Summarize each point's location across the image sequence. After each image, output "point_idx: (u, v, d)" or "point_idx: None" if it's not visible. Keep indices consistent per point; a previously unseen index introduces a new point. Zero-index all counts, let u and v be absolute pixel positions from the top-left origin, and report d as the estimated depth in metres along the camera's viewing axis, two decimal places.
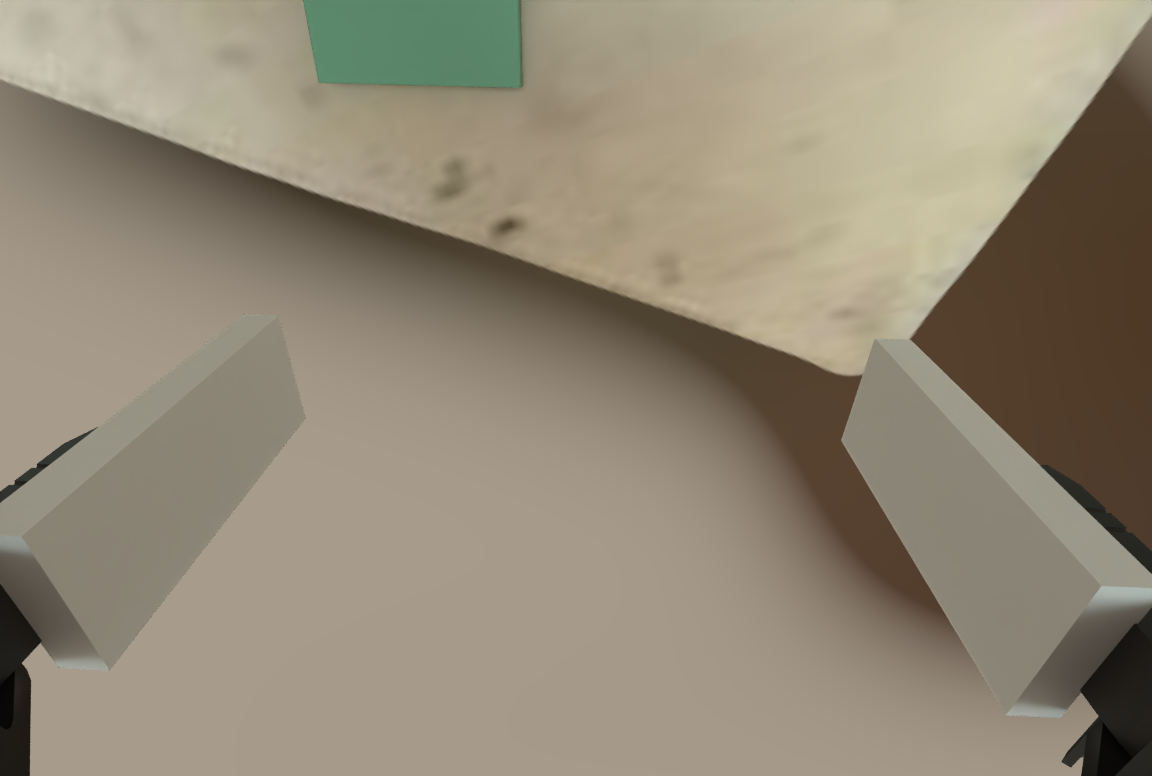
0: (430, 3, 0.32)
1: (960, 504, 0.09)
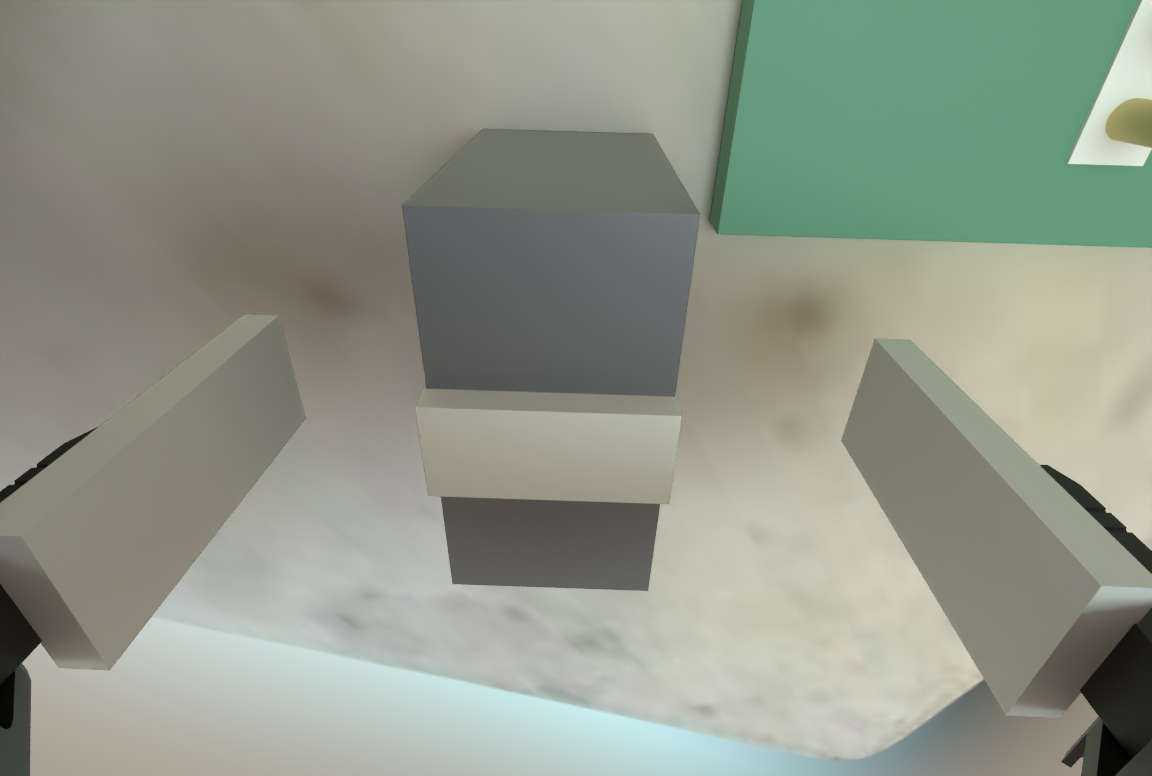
0: None
1: (960, 504, 0.09)
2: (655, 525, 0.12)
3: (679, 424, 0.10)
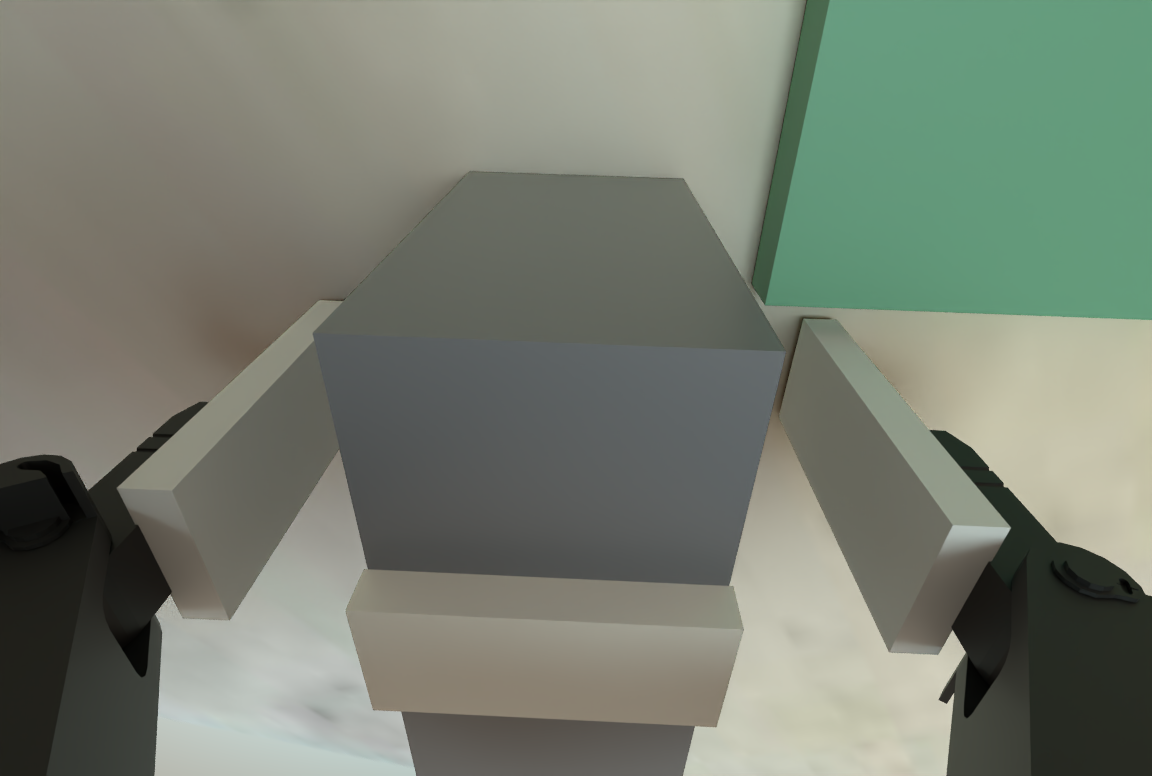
0: None
1: (860, 465, 0.10)
2: (692, 728, 0.09)
3: (739, 636, 0.07)
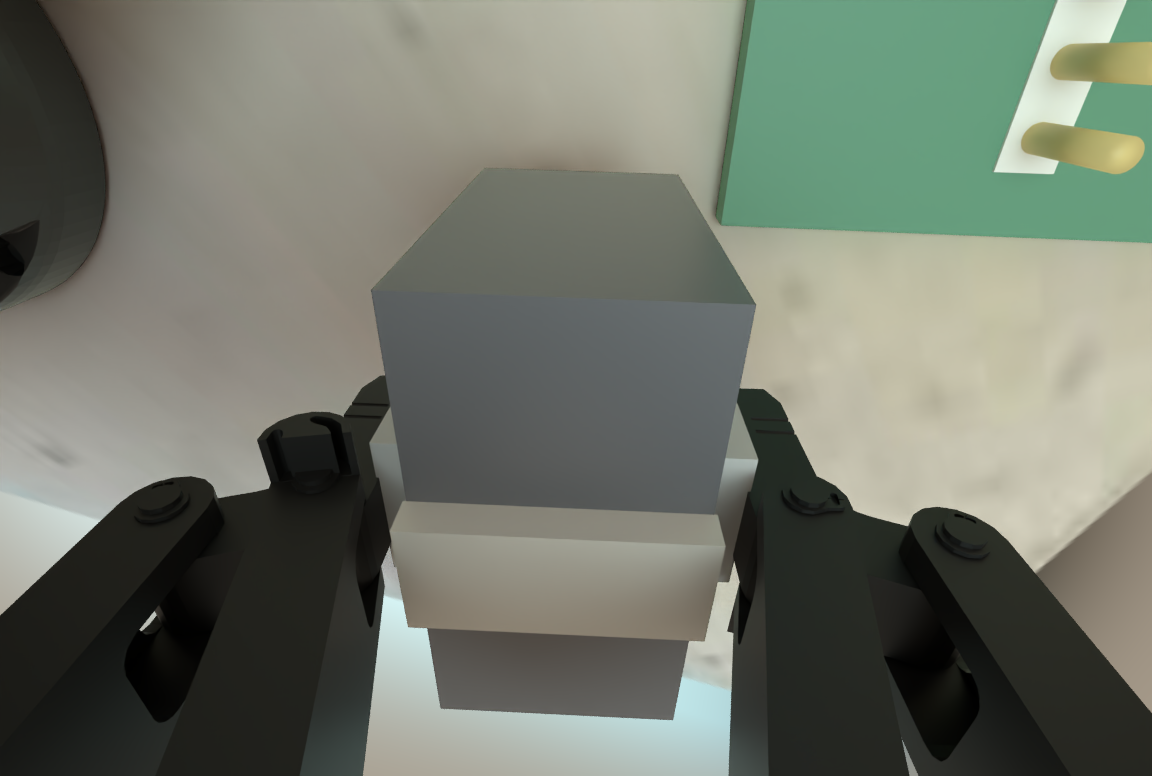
0: None
1: None
2: (684, 652, 0.10)
3: (722, 553, 0.08)
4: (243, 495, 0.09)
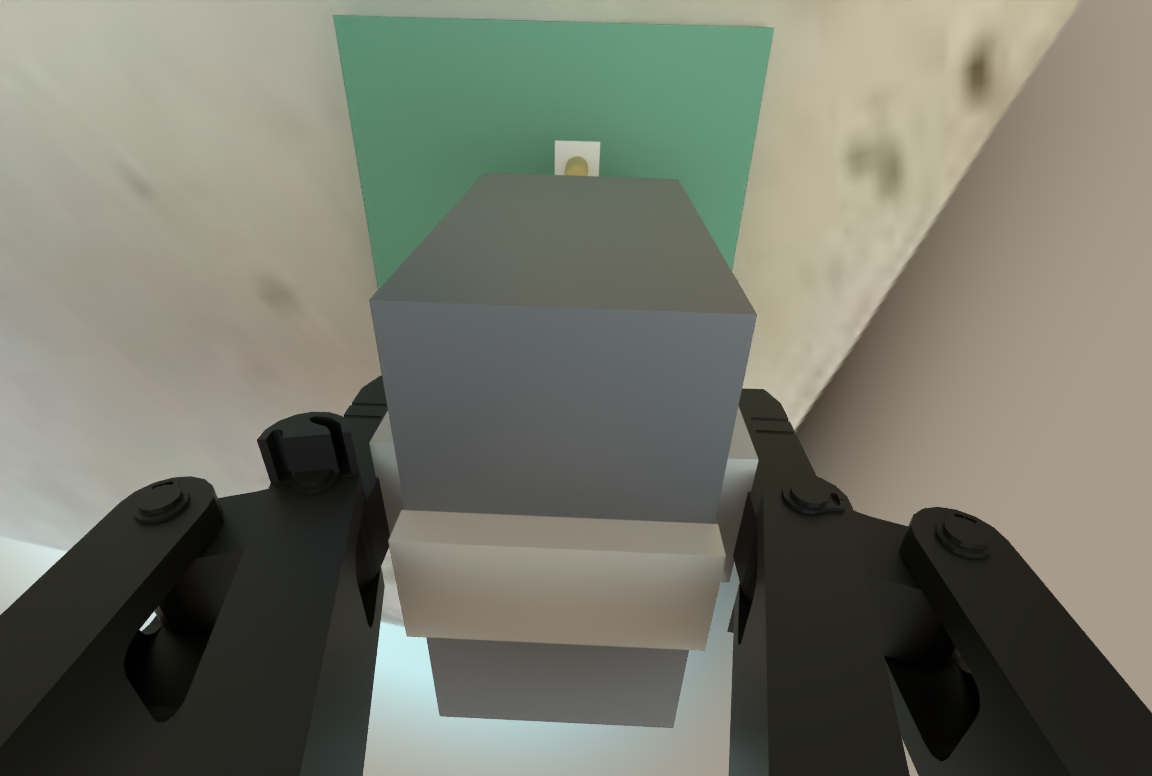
0: (649, 165, 0.23)
1: None
2: (684, 661, 0.10)
3: (722, 563, 0.08)
4: (243, 495, 0.09)
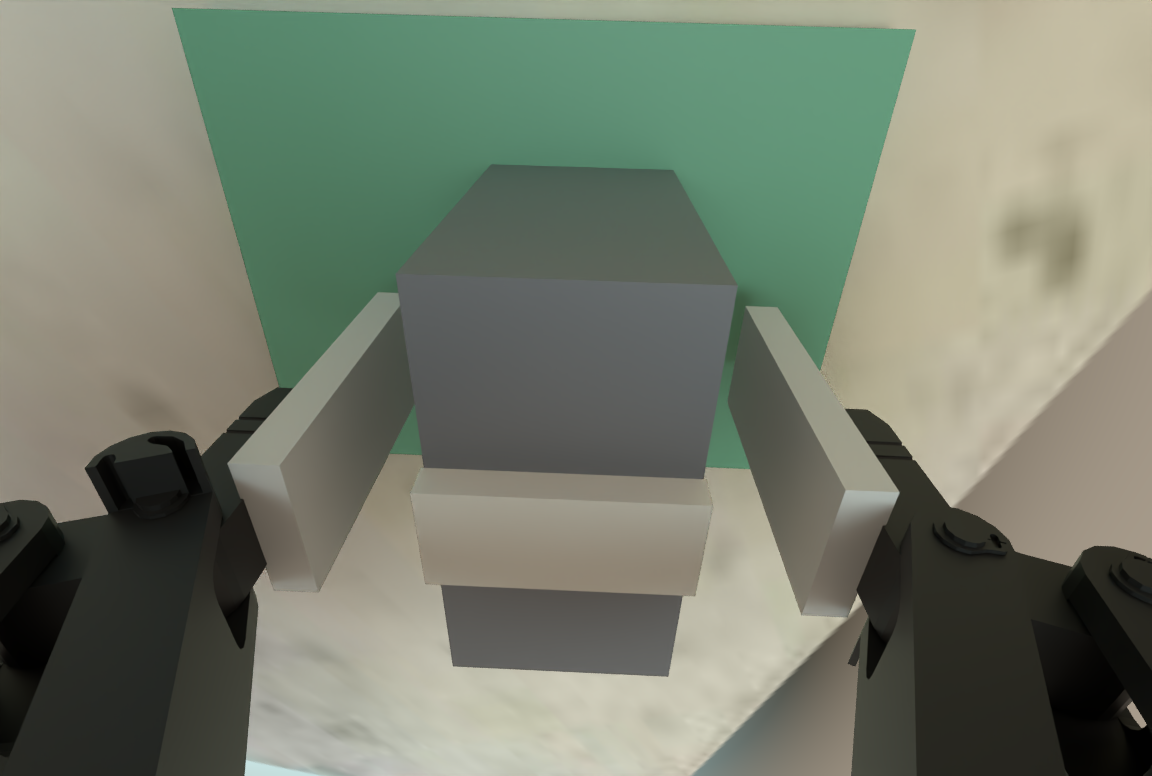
0: None
1: (784, 441, 0.11)
2: (677, 611, 0.11)
3: (709, 512, 0.09)
4: (92, 519, 0.08)
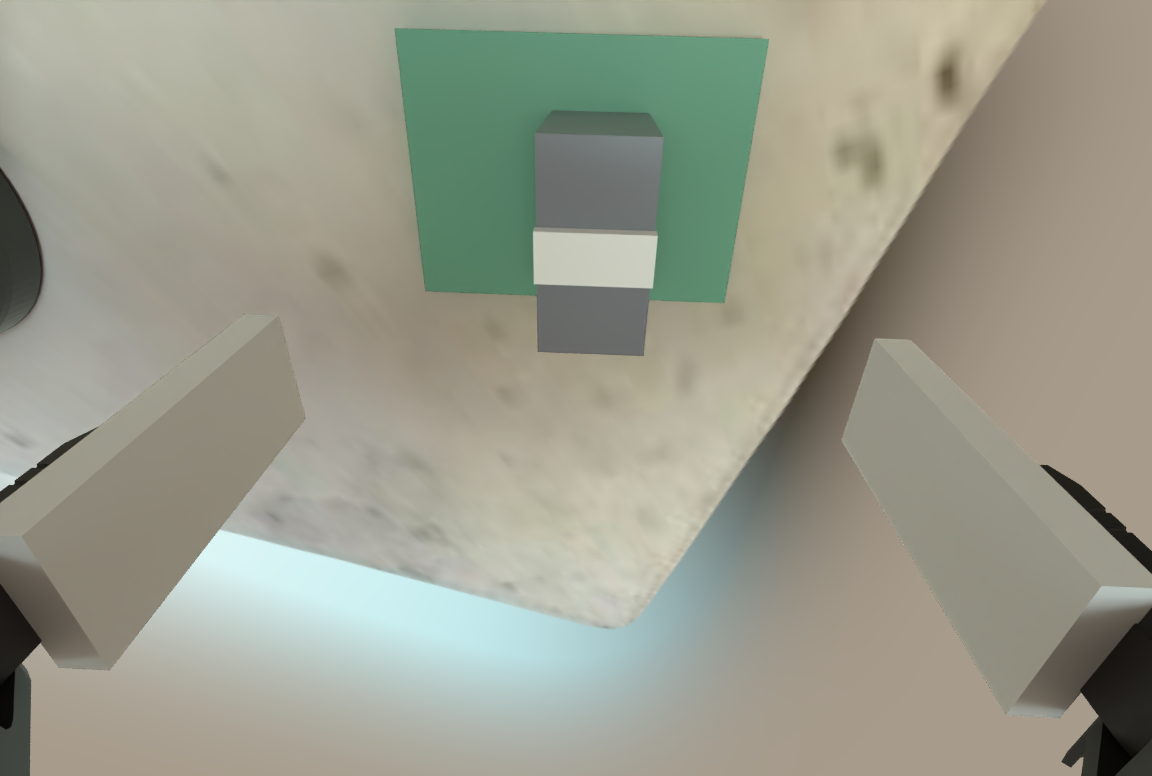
0: None
1: (960, 504, 0.09)
2: (646, 310, 0.23)
3: (656, 241, 0.21)
4: None
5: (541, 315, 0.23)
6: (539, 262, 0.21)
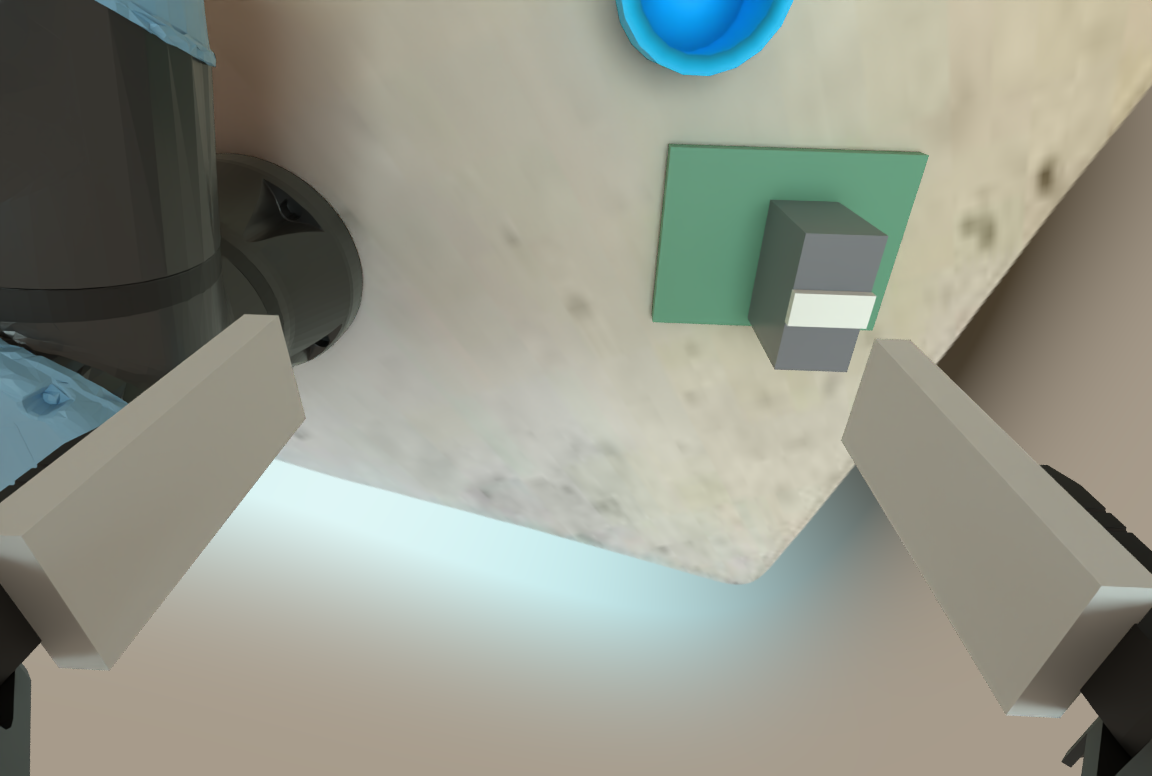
0: None
1: (960, 504, 0.09)
2: (855, 342, 0.34)
3: (874, 299, 0.32)
4: None
5: (783, 345, 0.34)
6: (794, 312, 0.33)
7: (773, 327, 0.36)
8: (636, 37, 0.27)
